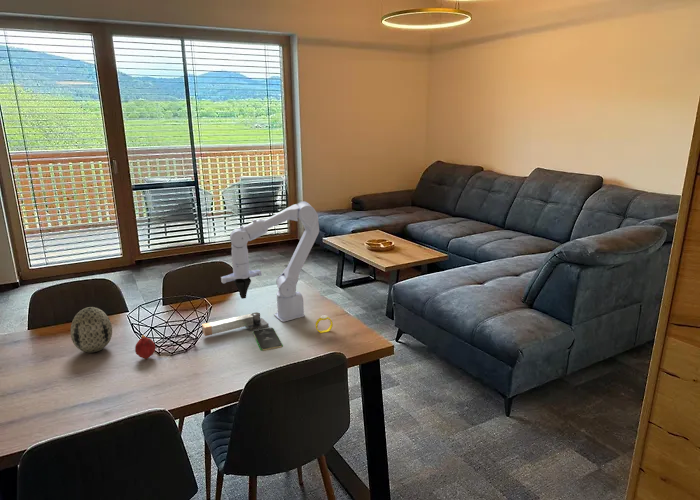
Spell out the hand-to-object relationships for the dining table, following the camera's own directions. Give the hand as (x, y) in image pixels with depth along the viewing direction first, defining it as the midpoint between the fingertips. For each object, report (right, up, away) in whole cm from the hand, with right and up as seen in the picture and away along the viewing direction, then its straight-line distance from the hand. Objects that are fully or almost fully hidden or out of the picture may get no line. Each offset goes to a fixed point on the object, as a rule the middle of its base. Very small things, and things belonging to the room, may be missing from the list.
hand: (243, 297), depth 171 cm
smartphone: (+11, -14, -11) cm, 21 cm away
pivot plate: (+5, -10, -1) cm, 11 cm away
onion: (-25, -17, -23) cm, 38 cm away
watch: (+30, -12, -6) cm, 33 cm away
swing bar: (-2, -10, -6) cm, 12 cm away
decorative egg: (-44, -16, -18) cm, 50 cm away
